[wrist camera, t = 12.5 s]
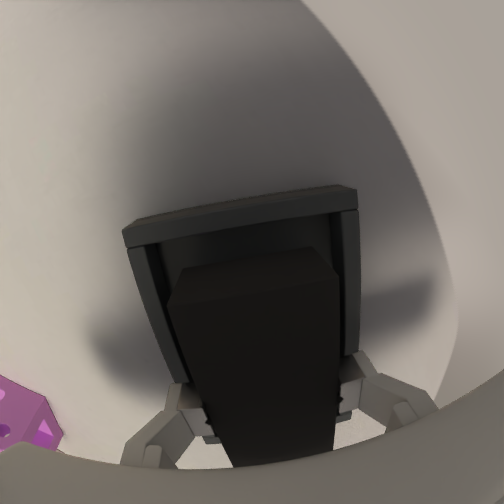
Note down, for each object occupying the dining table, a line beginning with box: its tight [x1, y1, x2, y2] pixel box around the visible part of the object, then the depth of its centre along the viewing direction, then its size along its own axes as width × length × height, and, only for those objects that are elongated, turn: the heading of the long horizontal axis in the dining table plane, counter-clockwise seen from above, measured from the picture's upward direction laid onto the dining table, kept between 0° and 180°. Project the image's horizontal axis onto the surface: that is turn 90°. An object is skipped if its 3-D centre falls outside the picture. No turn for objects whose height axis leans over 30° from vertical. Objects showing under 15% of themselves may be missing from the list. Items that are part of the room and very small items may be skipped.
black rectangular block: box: [167, 246, 340, 468], centre depth 11 cm, size 10×5×3 cm, turn 9°
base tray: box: [122, 185, 361, 444], centre depth 13 cm, size 14×9×2 cm
